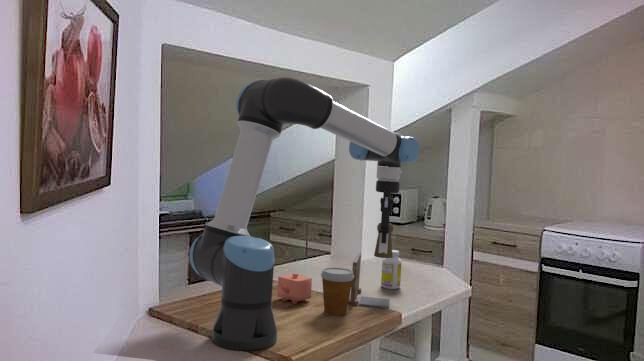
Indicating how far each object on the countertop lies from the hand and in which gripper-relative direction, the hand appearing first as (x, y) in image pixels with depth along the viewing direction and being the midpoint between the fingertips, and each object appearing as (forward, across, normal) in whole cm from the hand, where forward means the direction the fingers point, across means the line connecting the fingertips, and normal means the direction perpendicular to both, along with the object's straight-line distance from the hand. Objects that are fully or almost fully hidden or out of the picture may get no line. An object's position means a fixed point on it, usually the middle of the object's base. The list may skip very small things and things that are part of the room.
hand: (383, 251), depth 171 cm
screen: (+15, -6, +8) cm, 18 cm away
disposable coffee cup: (+15, -24, +12) cm, 31 cm away
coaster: (+15, -10, +1) cm, 18 cm away
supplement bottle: (+15, +13, -3) cm, 20 cm away
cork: (+2, 0, 0) cm, 2 cm away
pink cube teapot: (+15, -16, +26) cm, 34 cm away
